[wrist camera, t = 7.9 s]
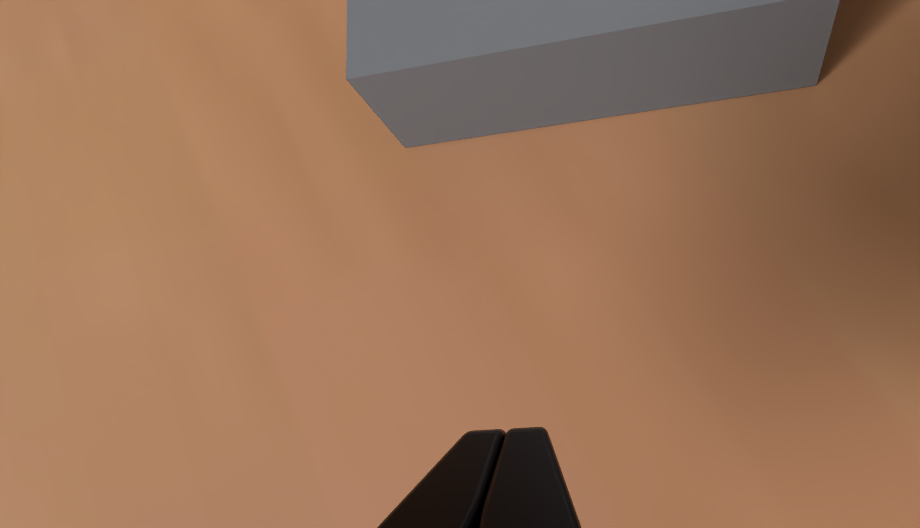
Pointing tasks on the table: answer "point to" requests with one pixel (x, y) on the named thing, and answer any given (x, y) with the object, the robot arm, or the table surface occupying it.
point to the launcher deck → (571, 58)
